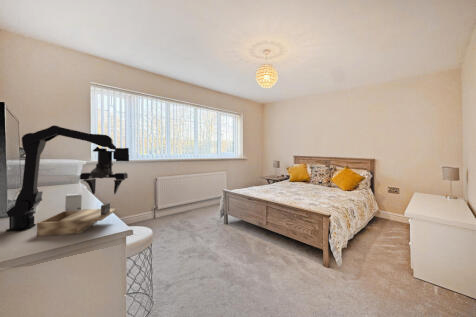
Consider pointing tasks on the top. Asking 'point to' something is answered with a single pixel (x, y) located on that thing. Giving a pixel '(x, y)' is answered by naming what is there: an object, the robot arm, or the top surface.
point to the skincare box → (73, 202)
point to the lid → (90, 214)
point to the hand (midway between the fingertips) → (104, 193)
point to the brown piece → (61, 225)
